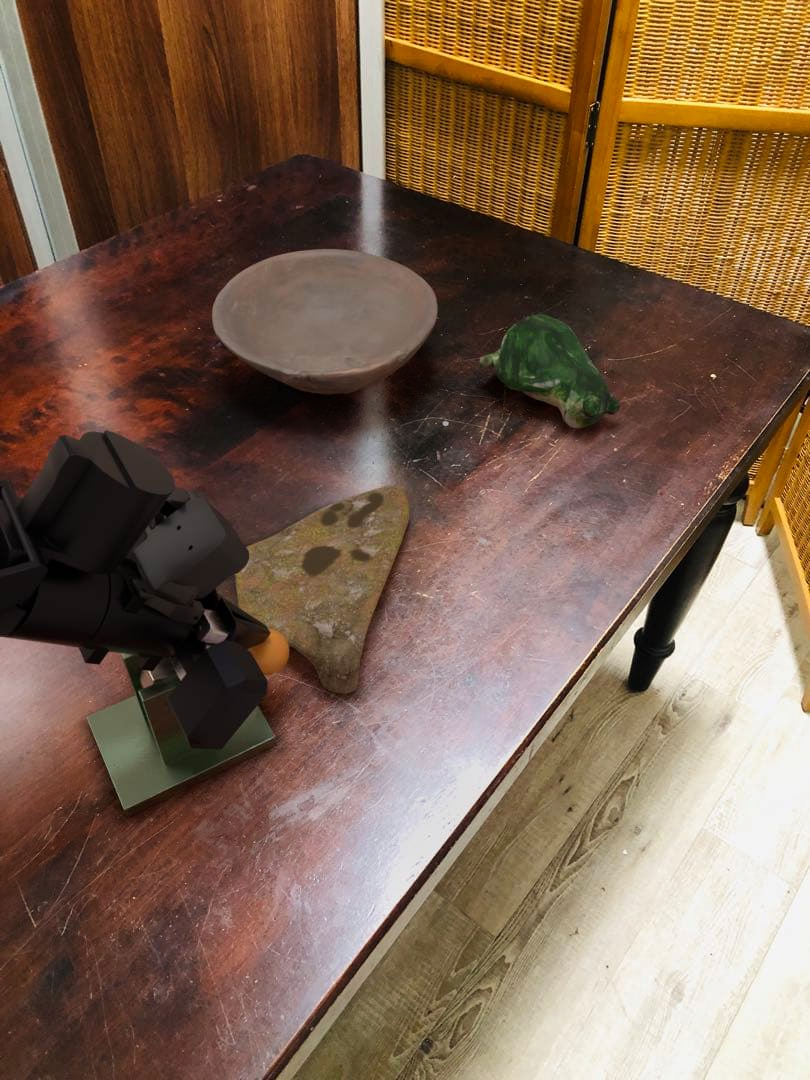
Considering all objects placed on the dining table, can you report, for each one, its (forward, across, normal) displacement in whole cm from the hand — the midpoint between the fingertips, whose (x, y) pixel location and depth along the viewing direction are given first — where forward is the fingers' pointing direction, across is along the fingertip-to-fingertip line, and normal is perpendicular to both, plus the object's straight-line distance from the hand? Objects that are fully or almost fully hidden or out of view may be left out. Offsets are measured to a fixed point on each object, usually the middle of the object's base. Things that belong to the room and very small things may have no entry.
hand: (265, 634), depth 66 cm
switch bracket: (0, 0, +11) cm, 11 cm away
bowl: (+23, +38, -11) cm, 46 cm away
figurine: (+37, +20, -24) cm, 48 cm away
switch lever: (-1, 0, +5) cm, 5 cm away
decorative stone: (+12, +10, 0) cm, 16 cm away
